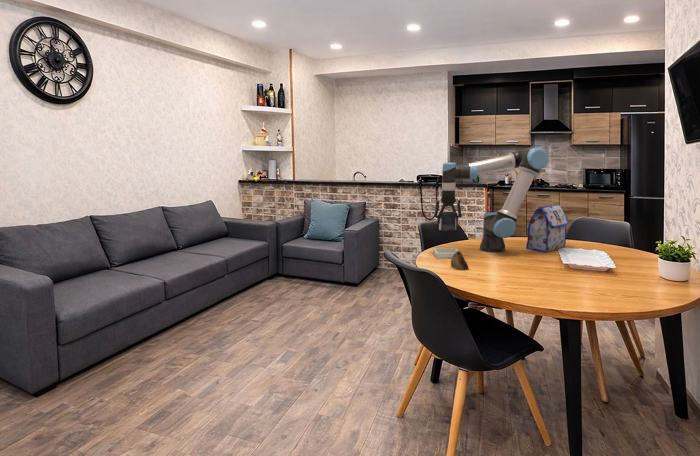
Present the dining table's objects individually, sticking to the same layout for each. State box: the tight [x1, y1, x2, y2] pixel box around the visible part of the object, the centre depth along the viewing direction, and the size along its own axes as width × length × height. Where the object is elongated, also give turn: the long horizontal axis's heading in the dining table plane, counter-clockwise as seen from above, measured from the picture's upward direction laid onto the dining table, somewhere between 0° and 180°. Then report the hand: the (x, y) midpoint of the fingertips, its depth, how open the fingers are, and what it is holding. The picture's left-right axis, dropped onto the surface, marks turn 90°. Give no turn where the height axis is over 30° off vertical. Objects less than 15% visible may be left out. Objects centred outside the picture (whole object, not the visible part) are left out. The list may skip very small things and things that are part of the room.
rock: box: [450, 250, 470, 271], centre depth 237 cm, size 11×9×10 cm
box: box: [440, 210, 457, 232], centre depth 261 cm, size 8×6×11 cm
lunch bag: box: [525, 204, 569, 254], centre depth 276 cm, size 23×17×27 cm
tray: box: [432, 247, 463, 260], centre depth 265 cm, size 14×14×3 cm
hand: (447, 229), depth 262 cm, fingers closed on box, 8 cm apart
